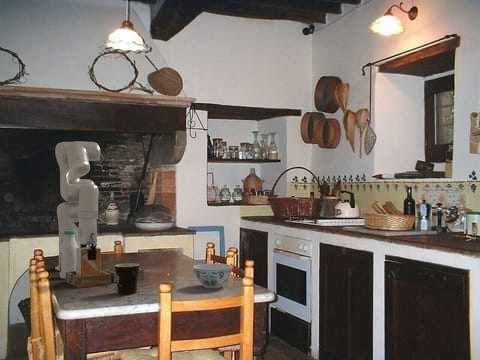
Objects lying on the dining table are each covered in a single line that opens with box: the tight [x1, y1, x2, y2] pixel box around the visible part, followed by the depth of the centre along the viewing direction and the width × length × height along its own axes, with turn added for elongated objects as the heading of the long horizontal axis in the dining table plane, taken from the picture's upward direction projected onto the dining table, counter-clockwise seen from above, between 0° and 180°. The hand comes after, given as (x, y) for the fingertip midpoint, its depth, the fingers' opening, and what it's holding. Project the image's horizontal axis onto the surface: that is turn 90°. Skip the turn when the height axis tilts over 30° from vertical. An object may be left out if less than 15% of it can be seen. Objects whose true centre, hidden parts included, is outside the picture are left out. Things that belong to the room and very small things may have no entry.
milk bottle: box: [59, 230, 78, 280], centre depth 212 cm, size 8×8×20 cm
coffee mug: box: [114, 262, 140, 296], centre depth 177 cm, size 12×9×10 cm
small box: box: [76, 246, 102, 277], centre depth 199 cm, size 8×6×13 cm
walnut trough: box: [65, 270, 112, 289], centre depth 198 cm, size 16×13×4 cm
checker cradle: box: [103, 267, 145, 283], centre depth 207 cm, size 11×13×4 cm
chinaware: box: [192, 263, 233, 289], centre depth 190 cm, size 15×15×8 cm
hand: (87, 258), depth 199 cm, fingers open, 9 cm apart
